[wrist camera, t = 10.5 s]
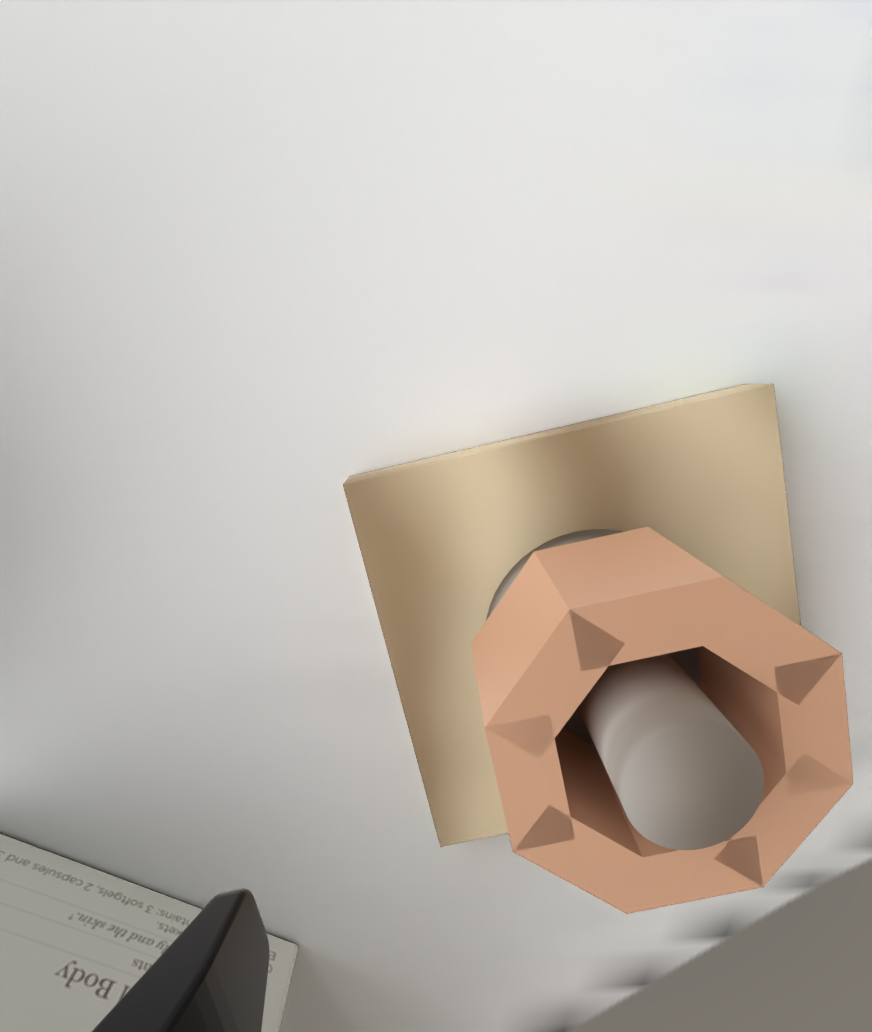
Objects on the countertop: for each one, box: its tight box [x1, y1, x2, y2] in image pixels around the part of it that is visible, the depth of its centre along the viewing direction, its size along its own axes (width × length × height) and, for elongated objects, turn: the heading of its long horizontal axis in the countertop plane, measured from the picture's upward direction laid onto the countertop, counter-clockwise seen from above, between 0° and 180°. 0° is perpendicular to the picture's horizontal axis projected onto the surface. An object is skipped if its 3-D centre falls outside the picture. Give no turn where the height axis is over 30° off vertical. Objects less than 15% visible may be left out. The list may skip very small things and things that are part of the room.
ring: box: [471, 527, 853, 914], centre depth 14 cm, size 7×7×4 cm
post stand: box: [343, 384, 801, 850], centre depth 15 cm, size 12×12×8 cm
